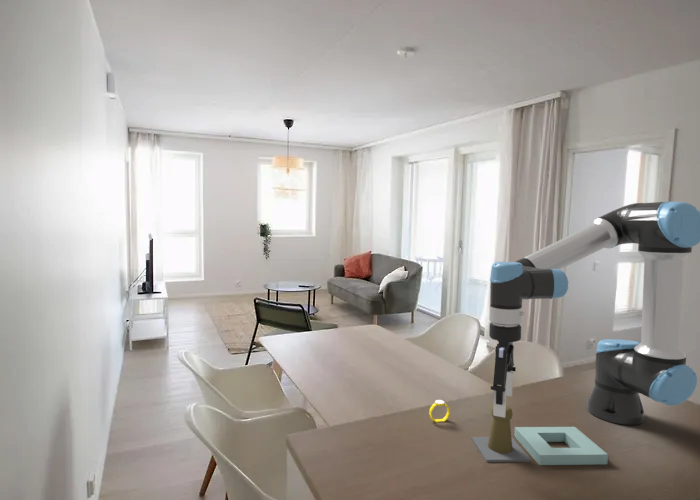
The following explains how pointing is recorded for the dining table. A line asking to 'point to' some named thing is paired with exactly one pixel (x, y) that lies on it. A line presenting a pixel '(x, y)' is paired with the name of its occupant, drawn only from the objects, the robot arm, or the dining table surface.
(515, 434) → the socket board
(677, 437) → the dining table surface
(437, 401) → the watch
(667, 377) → the robot arm
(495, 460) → the rubber mat
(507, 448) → the cork
